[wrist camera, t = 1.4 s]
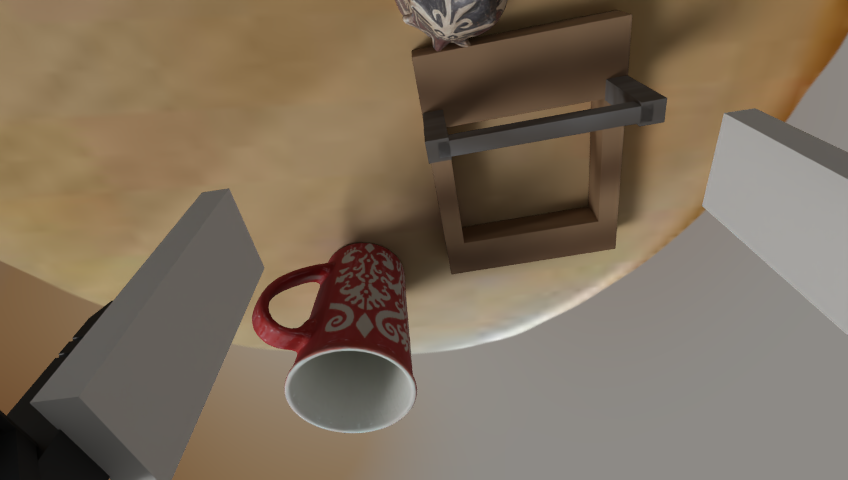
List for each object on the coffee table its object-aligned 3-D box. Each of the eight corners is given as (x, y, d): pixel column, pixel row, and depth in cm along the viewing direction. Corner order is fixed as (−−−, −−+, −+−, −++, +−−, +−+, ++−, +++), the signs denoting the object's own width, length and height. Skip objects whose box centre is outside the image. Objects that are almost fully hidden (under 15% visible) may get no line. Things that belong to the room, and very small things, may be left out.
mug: (435, 267, 41) (444, 387, 30) (377, 323, 45) (366, 449, 33) (318, 191, 36) (277, 298, 25) (265, 260, 40) (208, 381, 29)
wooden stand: (411, 50, 31) (412, 77, 24) (616, 10, 30) (677, 26, 23) (449, 257, 40) (456, 318, 34) (604, 232, 39) (644, 290, 33)
